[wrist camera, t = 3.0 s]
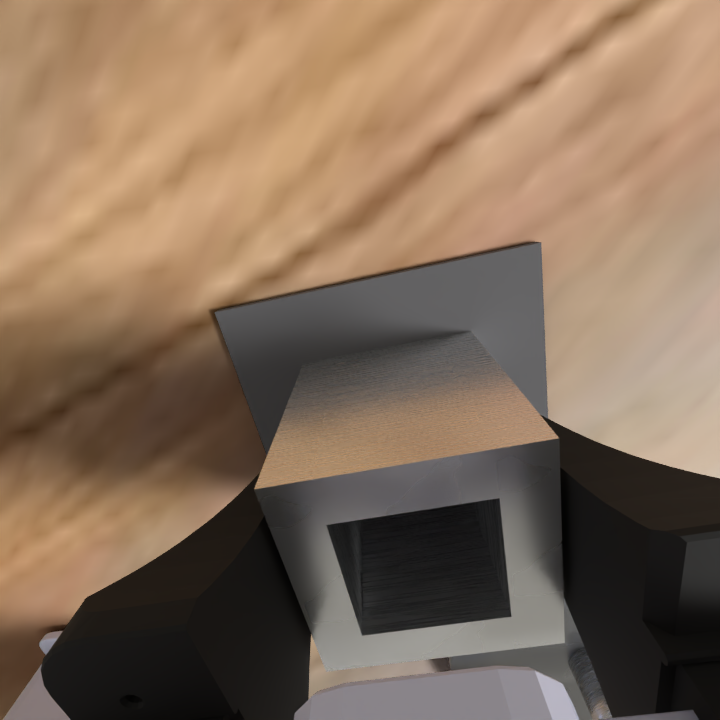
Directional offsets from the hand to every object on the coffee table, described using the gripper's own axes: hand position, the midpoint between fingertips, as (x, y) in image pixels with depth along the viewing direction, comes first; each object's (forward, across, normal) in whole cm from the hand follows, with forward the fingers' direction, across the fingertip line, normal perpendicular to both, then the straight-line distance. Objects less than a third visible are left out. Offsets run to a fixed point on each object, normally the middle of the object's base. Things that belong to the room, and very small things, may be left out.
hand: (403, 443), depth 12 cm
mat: (+2, 0, 0) cm, 2 cm away
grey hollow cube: (+1, 0, 0) cm, 1 cm away
